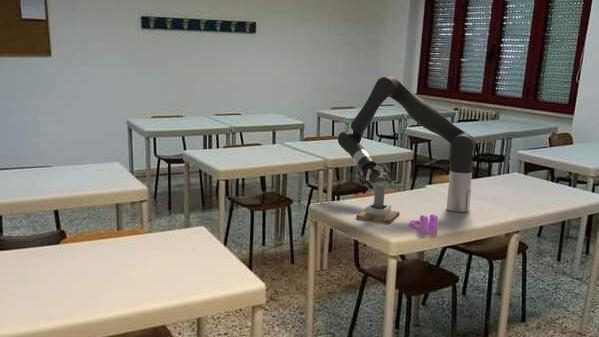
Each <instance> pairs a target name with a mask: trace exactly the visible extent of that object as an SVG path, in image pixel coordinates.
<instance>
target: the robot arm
mask: <svg viewBox="0 0 599 337" xmlns="http://www.w3.org/2000/svg"><path fill="white" fill-rule="evenodd" d="M387 98H391V99H393V100H394V101H395V102H397V103H398V104H399V105H401V107H403V109H404V110H405V112H406V113H407V114H408V115H409V116H410V118H411V119H412V120H414V121H415V122H416V123H417V124H418V125H420V126H421V127H423V128H424V129H425V130H428V131H430V132H431V133H434V134H436V135H437V136H440V137H441V138H442V139H444V140H445V141H447V143H449V144H450V152H449V153H450V155H449V175H448V176H449V177H448V188H447V200H446V209H447V210H449V211H452V212H456V213H468V212H469V210H470V208H471V207H470V204H471V197H472V195H471V194H472V178H473V177H472V176H473V158H474V150H475V148H476V144H477V143H476V139H475V138H474V136H473V135H471V134H469V133H468V132H466V131H464V130H462V129H461V128H459V126H456V125H455V124H453V122H451V121H450V120H448V118H446V117H445V116H444V115H443V114H441V113H440V111H438V110H437V109H436V108H435V107H433V106H431V104H429V103H428V102H426V101H425V100H423V99H422V98H420V96H418V95H416V94H415V93H413V92H411V90H410V89H408V87H406V86H405V85H404V84H403V83H402V82H400V81H399V80H398V78H396V77H394V76H392V75H385V76H382V77H380V78H378V79H377V81H376V83H375V84H374V86H373V88H372V91H371V93H370V95H369V96H368V99H367V100H366V101H365V103H364V105H363V106H362V108H361V109H360V110H359V112H358V113H357V115H356V116H355V117H354V119H353V120H352V122H351V124H350V128H351V130H352V131H353V132H350V131H342V132H340V133H339V134H338V136H337V142H338V144H339V146H340V147H341V149H343V150H344V151H345V152H346V153H347V154H349V156H350V157H351V159H352V160H353V161H354V164H355V165H356V166H357V168H358V170H359V171H357V173H356V178H357V179H358V182H360V185H362V186H363V185H366V186H367V188H368V189H370V190H374V184H373V183H372V181H370V179H372V180H373V179H375V178H383V179H384V180H385V181H386V182H387V184H388V185H390V184H392V178H391V170H390V169H389V168H388V167H387V165H386V164H384V163H382V165H380V166H379V165H377V163H376V162H375V160H374V158H373V157H372V156H371V155H370V153H369V152H368V151H367V150H366V149H365V147H364V146H363V145H362V144H361V141H362V138H363V135H364V133H365V131H366V129H368V127H369V125H370V124H371V123H372V120H373V118H374V117H375V115H376V113H377V111H378V109H379V107H380V106H381V105H382V104H383V103H384V102H385V101H386V100H387ZM363 176H364V177H365V179H364V177H363Z"/></svg>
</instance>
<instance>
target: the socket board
mask: <svg viewBox="0 0 599 337" xmlns="http://www.w3.org/2000/svg"><path fill="white" fill-rule="evenodd" d="M391 209H392V205H391V204H390V205H388V204H384V208H383V209H378V208H374V202H371V203H370V204H369V205H368V206H366V207H365V208H364V209H363V210H362V211H360V212H358V213H357V214H356V216H355V217H356V218H355V219H357V220H361V221H367V222H372V223H378V224H379V223H380V224H387V225H390V224H392V223H393V222H394V221H395V220H396V219H397V218H398V217H399V216H400V211H396V210H391Z"/></svg>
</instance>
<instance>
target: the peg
mask: <svg viewBox="0 0 599 337" xmlns="http://www.w3.org/2000/svg"><path fill="white" fill-rule="evenodd" d="M385 189H386V185H385V184H381V183H376V184H375V185H374V193H373V194H374V197H373V203H374V208H378V209H383V208H384V205H385V204H384V203H385V192H386V190H385Z"/></svg>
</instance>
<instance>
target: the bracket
mask: <svg viewBox="0 0 599 337" xmlns="http://www.w3.org/2000/svg"><path fill="white" fill-rule="evenodd" d="M438 224H439V217H438V215H437V214H435V213H433V214H431V213H430V215H429V217H428V215H427V214H421V215H420V216H419V219H416V220H415V219H412V220H409V227H412V228H413V229H415V230H417V231H418V232H419V233H421V234H423V235H431V234H437V233H438Z"/></svg>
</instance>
